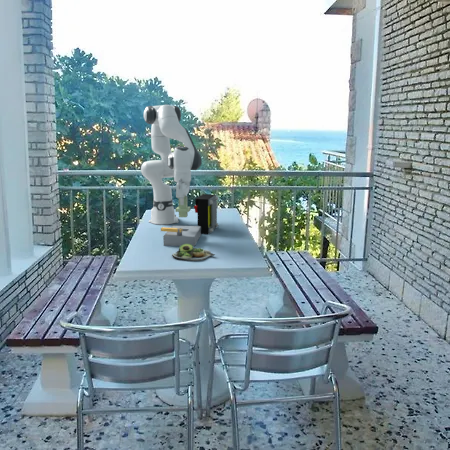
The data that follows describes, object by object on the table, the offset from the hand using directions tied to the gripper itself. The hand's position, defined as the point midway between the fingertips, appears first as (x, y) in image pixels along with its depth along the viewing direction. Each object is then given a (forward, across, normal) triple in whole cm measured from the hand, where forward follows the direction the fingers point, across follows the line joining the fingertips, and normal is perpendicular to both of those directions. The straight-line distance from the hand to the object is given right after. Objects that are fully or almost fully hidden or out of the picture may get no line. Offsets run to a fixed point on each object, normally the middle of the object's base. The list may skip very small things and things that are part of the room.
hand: (183, 203), depth 245 cm
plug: (+7, 0, 0) cm, 7 cm away
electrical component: (+20, +21, -10) cm, 30 cm away
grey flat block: (+19, -2, 0) cm, 19 cm away
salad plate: (+20, -31, -9) cm, 38 cm away
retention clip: (+14, -12, +4) cm, 19 cm away
